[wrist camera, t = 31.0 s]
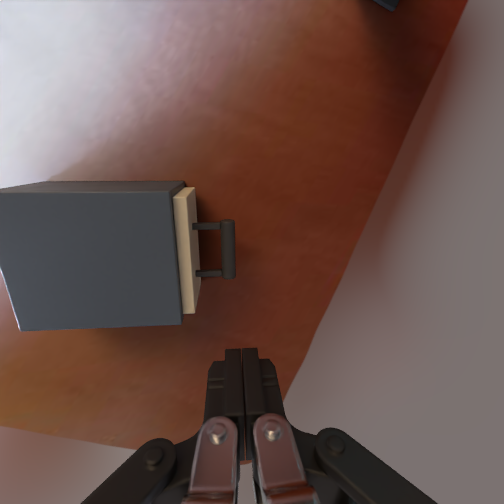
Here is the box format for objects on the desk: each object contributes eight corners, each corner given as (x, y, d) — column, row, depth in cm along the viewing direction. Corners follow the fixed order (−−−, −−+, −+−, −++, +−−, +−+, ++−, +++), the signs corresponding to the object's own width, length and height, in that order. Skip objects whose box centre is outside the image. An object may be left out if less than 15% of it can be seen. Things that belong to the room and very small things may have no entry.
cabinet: (184, 180, 31) (169, 191, 23) (192, 284, 35) (181, 324, 27) (43, 181, 30) (-25, 192, 22) (69, 288, 34) (20, 331, 26)
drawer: (233, 187, 31) (234, 196, 24) (235, 282, 34) (236, 312, 28) (63, 188, 29) (17, 198, 23) (84, 287, 33) (50, 319, 27)
